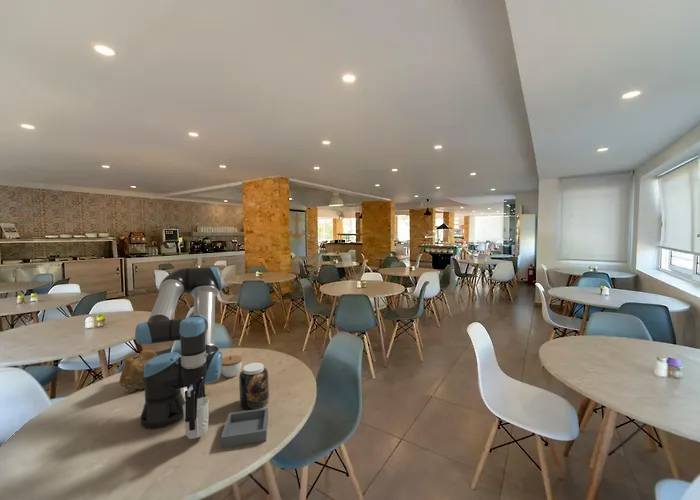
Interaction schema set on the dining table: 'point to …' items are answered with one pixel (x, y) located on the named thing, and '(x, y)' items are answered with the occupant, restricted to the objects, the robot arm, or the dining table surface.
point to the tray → (245, 428)
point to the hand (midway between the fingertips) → (197, 429)
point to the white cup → (200, 416)
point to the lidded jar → (231, 365)
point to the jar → (254, 386)
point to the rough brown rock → (135, 371)
